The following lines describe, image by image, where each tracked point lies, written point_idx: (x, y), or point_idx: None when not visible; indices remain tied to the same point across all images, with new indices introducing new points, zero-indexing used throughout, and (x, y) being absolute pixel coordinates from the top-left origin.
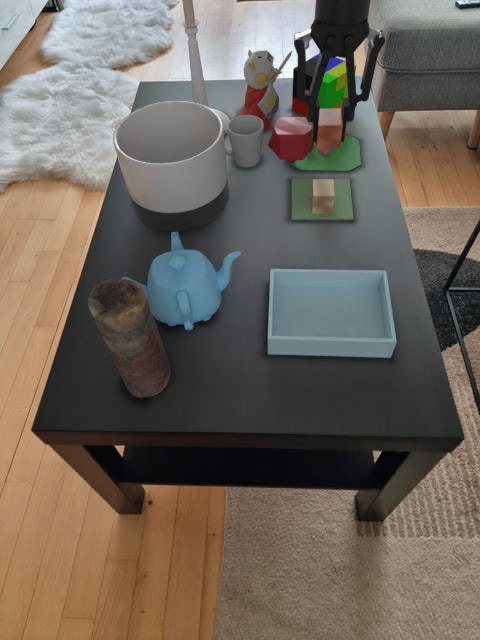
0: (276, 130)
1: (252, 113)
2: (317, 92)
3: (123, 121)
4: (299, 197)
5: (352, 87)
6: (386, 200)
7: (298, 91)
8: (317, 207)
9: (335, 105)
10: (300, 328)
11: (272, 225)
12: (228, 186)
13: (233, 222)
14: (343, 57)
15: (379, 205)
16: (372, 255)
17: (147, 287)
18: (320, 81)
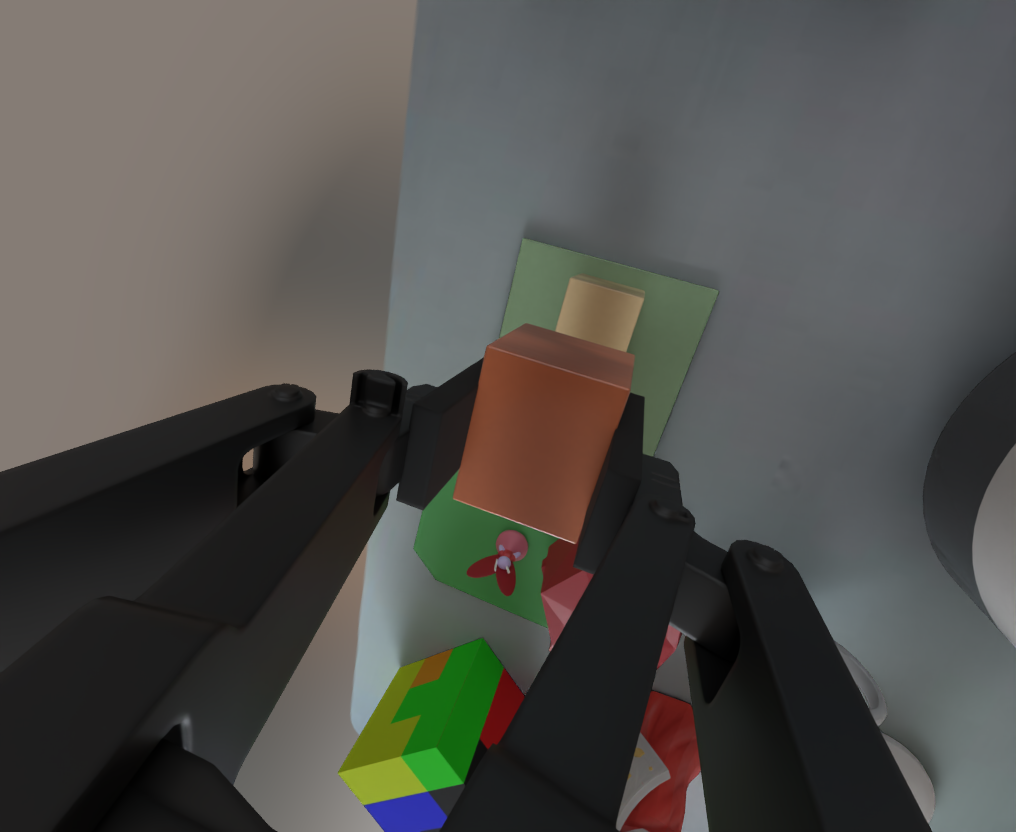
0: (676, 630)
1: (679, 756)
2: (626, 546)
3: None
4: (655, 379)
5: (325, 460)
6: (409, 299)
7: (816, 621)
8: (628, 288)
9: (435, 679)
10: None
11: (795, 279)
12: (951, 455)
13: (936, 332)
14: (195, 764)
15: (433, 283)
16: (518, 54)
17: None
18: (598, 608)
